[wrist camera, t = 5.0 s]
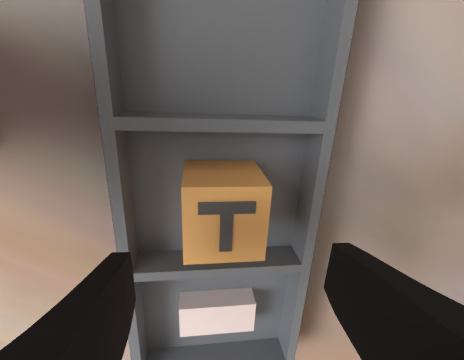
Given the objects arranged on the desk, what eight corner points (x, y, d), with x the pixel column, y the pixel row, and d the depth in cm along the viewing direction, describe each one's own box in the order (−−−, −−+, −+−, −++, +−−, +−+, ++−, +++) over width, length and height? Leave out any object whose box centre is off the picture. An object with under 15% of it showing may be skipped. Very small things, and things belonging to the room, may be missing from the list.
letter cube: (185, 222, 16) (183, 265, 13) (184, 160, 15) (181, 188, 11) (249, 220, 17) (265, 261, 13) (254, 160, 16) (272, 187, 12)
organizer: (140, 350, 20) (134, 384, 18) (89, -105, 11) (63, -151, 9) (283, 337, 22) (293, 367, 20) (344, -73, 12) (377, -105, 10)
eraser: (181, 318, 19) (179, 337, 18) (180, 292, 18) (178, 309, 17) (249, 313, 20) (253, 330, 18) (251, 287, 19) (256, 304, 18)
